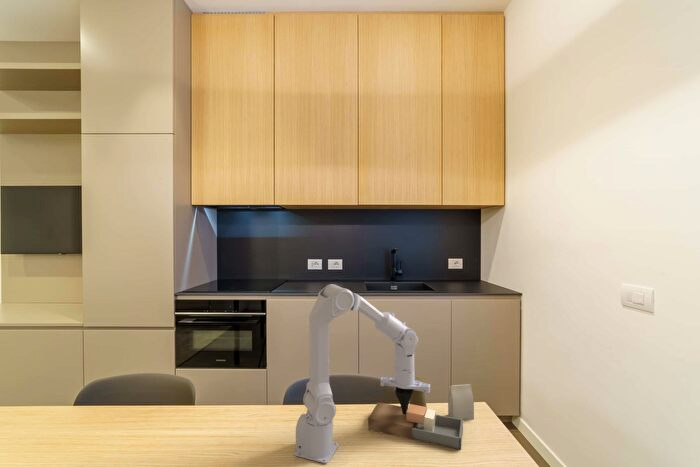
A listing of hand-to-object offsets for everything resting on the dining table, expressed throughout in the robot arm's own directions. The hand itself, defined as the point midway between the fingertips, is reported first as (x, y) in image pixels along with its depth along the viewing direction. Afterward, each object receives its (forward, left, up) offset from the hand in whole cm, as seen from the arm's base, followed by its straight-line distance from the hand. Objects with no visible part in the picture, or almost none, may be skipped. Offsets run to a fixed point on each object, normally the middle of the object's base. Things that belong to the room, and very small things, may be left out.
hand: (405, 412), depth 101 cm
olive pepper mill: (+2, +9, -5) cm, 11 cm away
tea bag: (+15, +12, -5) cm, 20 cm away
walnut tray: (-3, 0, -4) cm, 6 cm away
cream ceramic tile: (+6, 0, -1) cm, 6 cm away
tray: (+10, 0, -4) cm, 11 cm away
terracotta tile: (+3, 0, -1) cm, 4 cm away
